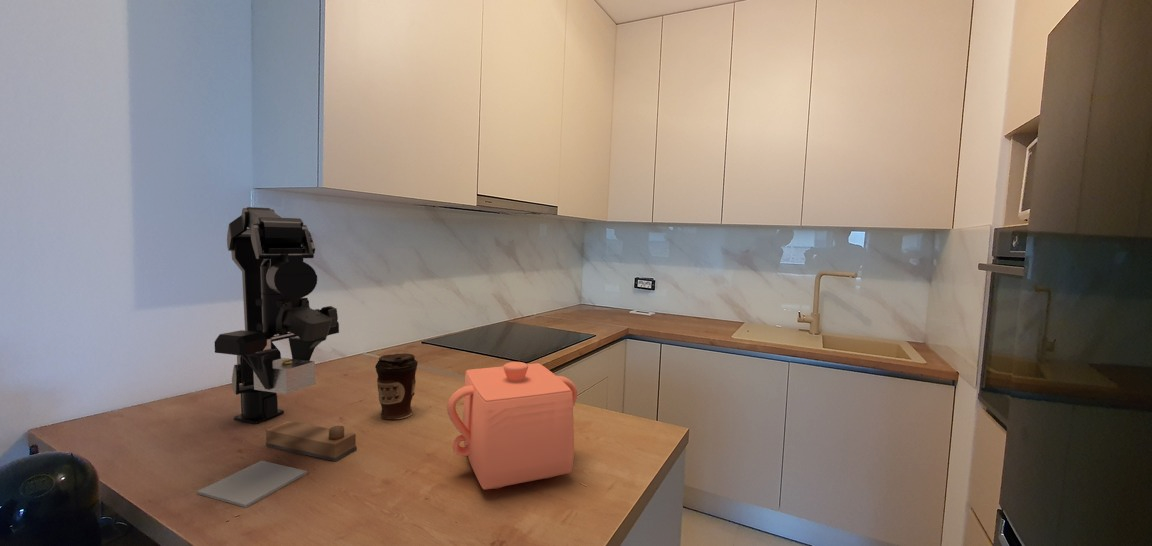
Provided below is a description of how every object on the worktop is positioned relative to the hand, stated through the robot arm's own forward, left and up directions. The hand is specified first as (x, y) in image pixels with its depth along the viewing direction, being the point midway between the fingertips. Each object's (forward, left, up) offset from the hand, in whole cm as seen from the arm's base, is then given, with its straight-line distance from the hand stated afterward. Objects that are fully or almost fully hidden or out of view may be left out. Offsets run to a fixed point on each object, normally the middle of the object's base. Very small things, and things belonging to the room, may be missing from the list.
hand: (284, 383), depth 78 cm
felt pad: (+2, -7, -13) cm, 15 cm away
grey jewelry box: (0, 0, -1) cm, 1 cm away
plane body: (0, +5, -13) cm, 14 cm away
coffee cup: (+4, +23, -14) cm, 27 cm away
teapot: (+35, +15, -14) cm, 40 cm away
